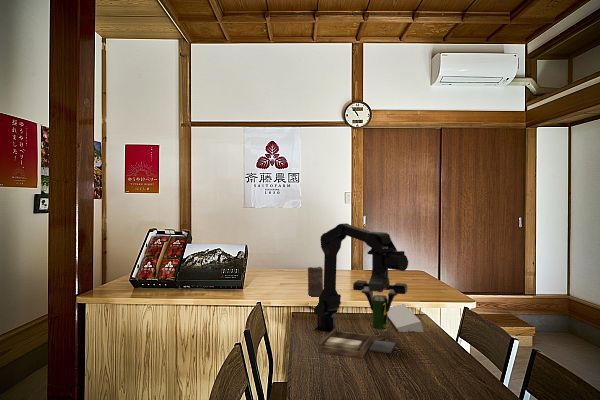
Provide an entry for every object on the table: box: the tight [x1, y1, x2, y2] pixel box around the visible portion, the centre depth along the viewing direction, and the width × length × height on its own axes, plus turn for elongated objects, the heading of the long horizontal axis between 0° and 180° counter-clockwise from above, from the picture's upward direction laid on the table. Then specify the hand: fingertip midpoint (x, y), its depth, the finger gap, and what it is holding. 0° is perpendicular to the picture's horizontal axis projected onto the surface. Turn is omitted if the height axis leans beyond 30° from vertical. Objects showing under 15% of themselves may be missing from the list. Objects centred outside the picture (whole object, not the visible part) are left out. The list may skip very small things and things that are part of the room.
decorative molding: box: [387, 303, 424, 333], centre depth 198 cm, size 34×5×10 cm
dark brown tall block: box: [307, 266, 324, 297], centre depth 217 cm, size 8×7×20 cm
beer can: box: [371, 294, 388, 332], centre depth 162 cm, size 5×5×12 cm
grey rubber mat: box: [368, 339, 396, 354], centre depth 162 cm, size 8×10×1 cm
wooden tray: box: [318, 327, 375, 359], centre depth 163 cm, size 15×20×3 cm
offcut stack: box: [325, 337, 363, 351], centre depth 158 cm, size 13×5×4 cm, turn 69°
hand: (380, 310), depth 162 cm, fingers closed on beer can, 5 cm apart
